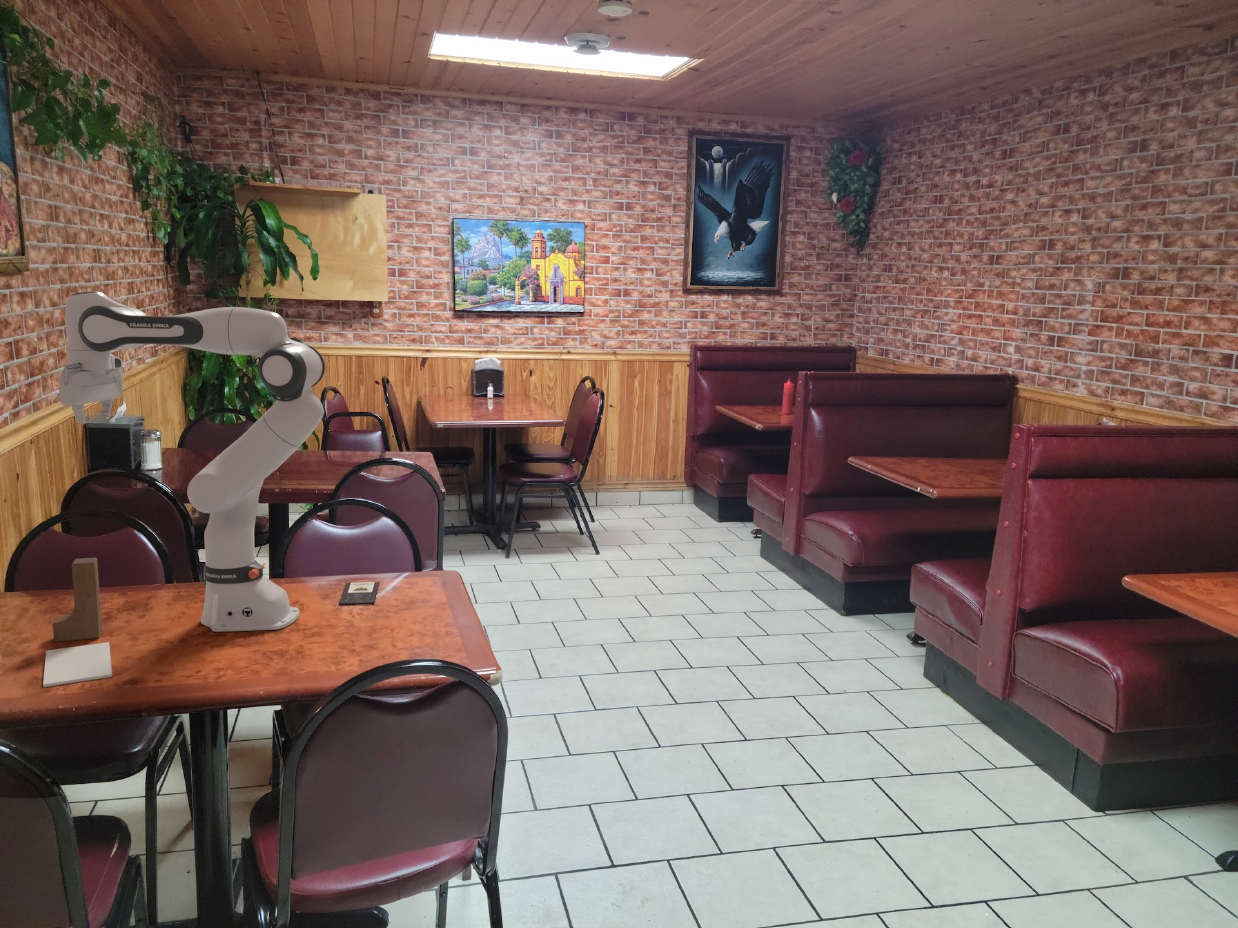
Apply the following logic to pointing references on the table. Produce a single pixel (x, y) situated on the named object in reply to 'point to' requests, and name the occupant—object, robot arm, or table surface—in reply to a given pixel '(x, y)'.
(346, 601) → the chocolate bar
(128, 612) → the table surface
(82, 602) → the wooden block
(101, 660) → the white board
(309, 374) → the robot arm
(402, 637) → the table surface
